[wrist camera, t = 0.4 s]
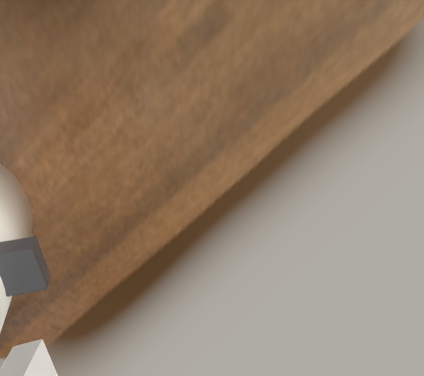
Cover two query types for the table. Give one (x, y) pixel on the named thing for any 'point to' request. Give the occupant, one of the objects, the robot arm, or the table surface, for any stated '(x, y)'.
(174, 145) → the table surface
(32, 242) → the cooker pot
